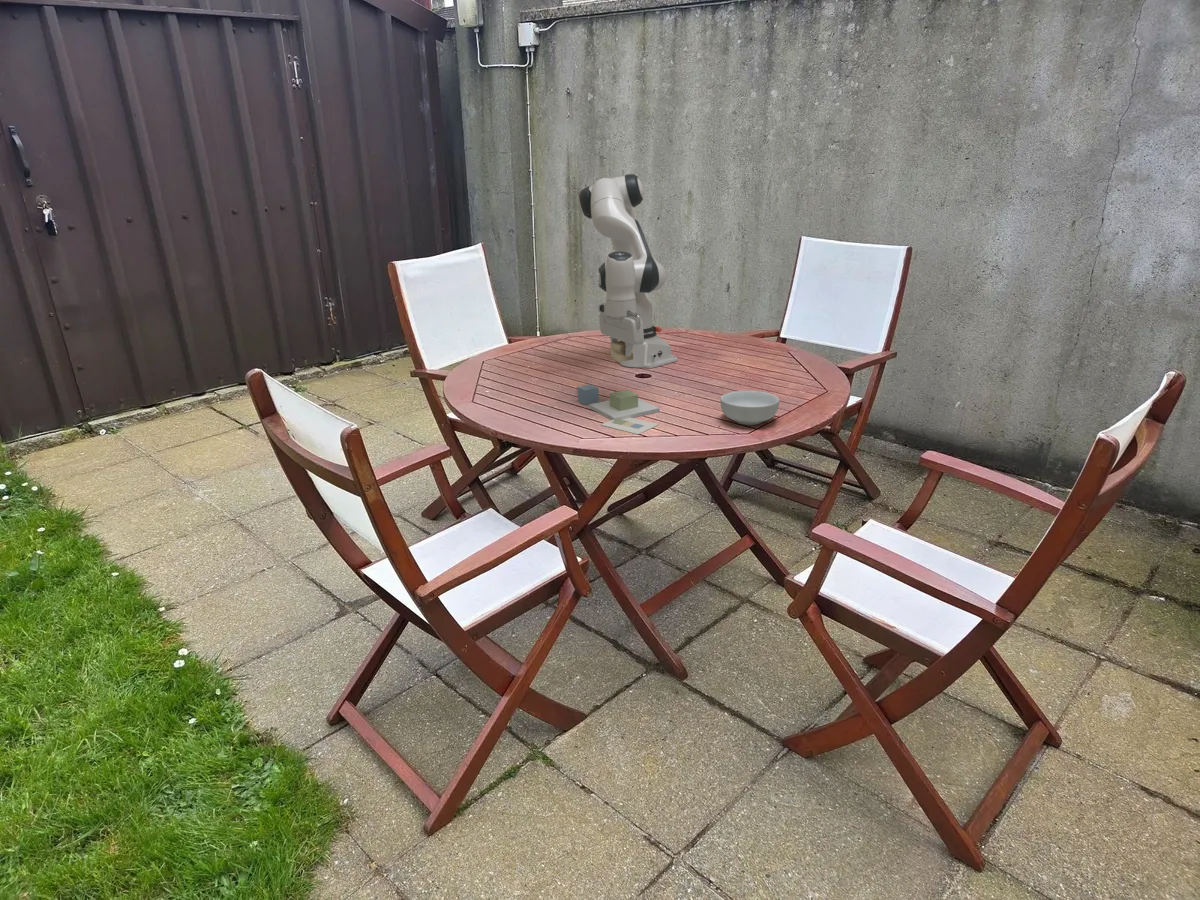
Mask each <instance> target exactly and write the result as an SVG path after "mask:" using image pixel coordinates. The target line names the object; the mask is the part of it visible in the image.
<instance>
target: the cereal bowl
mask: <svg viewBox="0 0 1200 900" xmlns="http://www.w3.org/2000/svg"><path fill="white" fill-rule="evenodd" d="M779 405H780V399H779V397H778V395H775V394H773V393H770V392H766V391H765V392H764V391H759V390H738V391H731V392H728V393H725V394H722V396H721V397H720V408H721V411H722V413H723V414H724V415H725V416H726V417H727V418H729V419H731V420H733V421H735V422H736V423H737V424H740V425H746V426H756V425H759V424H761V423H763V422H765V421H768V420H771V419H772V418H773V417H774V416H775V415H776V414H777V412H778V410H779V407H780V406H779Z"/></svg>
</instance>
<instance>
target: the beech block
mask: <svg viewBox="0 0 1200 900" xmlns="http://www.w3.org/2000/svg"><path fill="white" fill-rule="evenodd" d="M609 344H610V360H613V361H616V362H619V363H620V362H621V361H627V360H633V348H632V350H631V356H629V357H627V356H624V350H625V348H626V346H625V342H623V341H620V340H618V341H616V342H611V341H610V343H609Z"/></svg>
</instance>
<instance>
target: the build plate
mask: <svg viewBox="0 0 1200 900" xmlns="http://www.w3.org/2000/svg"><path fill="white" fill-rule="evenodd" d="M608 398H609V400H604V401H599V402H598V403H594V404H589V405H588V407H589V409H590V410H593V411H594V412H596V413H598V414H599V415H601V416H603V417H605V418H607V419H608V420H614V421H617V420H623V419H627V418H634V419H635V418H639V417H643V416H647V415H652V414H656V413H660V407H659V406H655V405H653V404H651V403H649V402H648V401H645V400H643V399H640V398H639V395H638V393H635V392H633V391H631V390H629V389H624V390H620V391H614V392H611V393H609V397H608Z"/></svg>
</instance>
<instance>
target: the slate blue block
mask: <svg viewBox="0 0 1200 900" xmlns="http://www.w3.org/2000/svg"><path fill="white" fill-rule="evenodd" d="M599 391H600V390H599V387H597V386H595V385H593V384H591V383H590V384H586V385H585V384H584V385H580V386H577V402H578V403H581V404H582V405H584V406H589V404H594V403H599V402H600V398H599V397H600V396H599Z"/></svg>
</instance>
